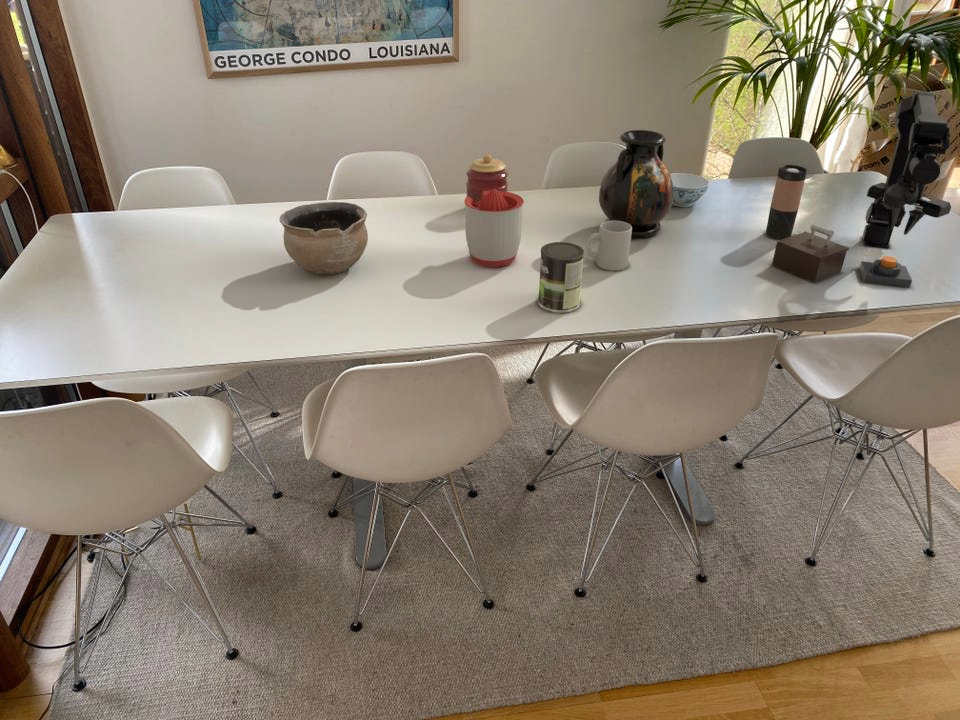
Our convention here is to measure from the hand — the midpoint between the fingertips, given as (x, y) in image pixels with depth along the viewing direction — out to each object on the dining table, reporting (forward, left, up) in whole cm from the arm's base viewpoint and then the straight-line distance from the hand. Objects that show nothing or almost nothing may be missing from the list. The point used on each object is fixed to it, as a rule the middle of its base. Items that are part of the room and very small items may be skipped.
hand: (898, 231), depth 196 cm
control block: (0, 0, -13) cm, 13 cm away
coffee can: (+79, +39, -13) cm, 89 cm away
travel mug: (+25, -23, -13) cm, 37 cm away
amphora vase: (+67, -15, -13) cm, 70 cm away
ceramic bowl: (+142, +36, -13) cm, 148 cm away
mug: (+71, +13, -13) cm, 74 cm away
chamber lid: (+19, 0, -7) cm, 20 cm away
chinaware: (+54, -42, -13) cm, 70 cm away
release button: (0, 0, -9) cm, 9 cm away
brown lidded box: (+19, 0, -13) cm, 23 cm away
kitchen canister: (+113, -18, -13) cm, 116 cm away
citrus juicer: (+102, +18, -13) cm, 105 cm away
